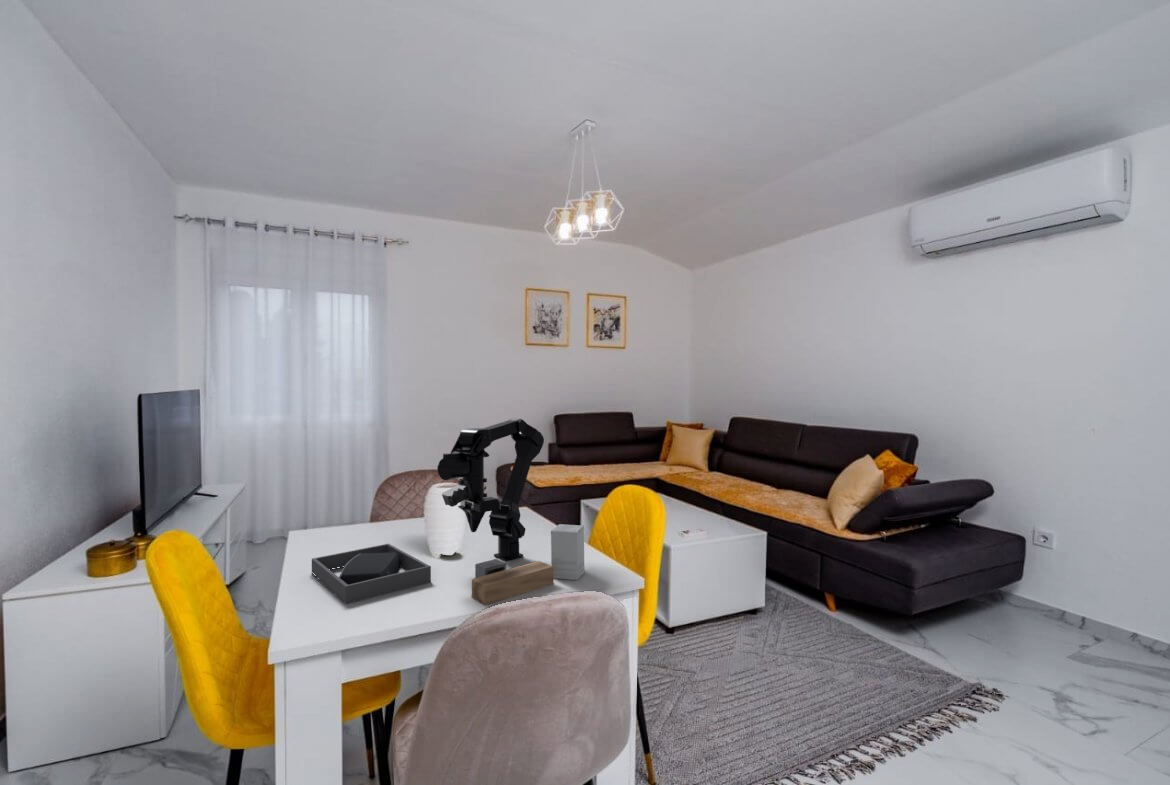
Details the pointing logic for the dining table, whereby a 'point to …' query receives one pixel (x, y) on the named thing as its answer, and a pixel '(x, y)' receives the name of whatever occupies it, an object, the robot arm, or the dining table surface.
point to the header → (511, 582)
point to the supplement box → (567, 551)
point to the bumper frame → (374, 587)
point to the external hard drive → (369, 567)
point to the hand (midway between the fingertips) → (473, 531)
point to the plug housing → (489, 567)
